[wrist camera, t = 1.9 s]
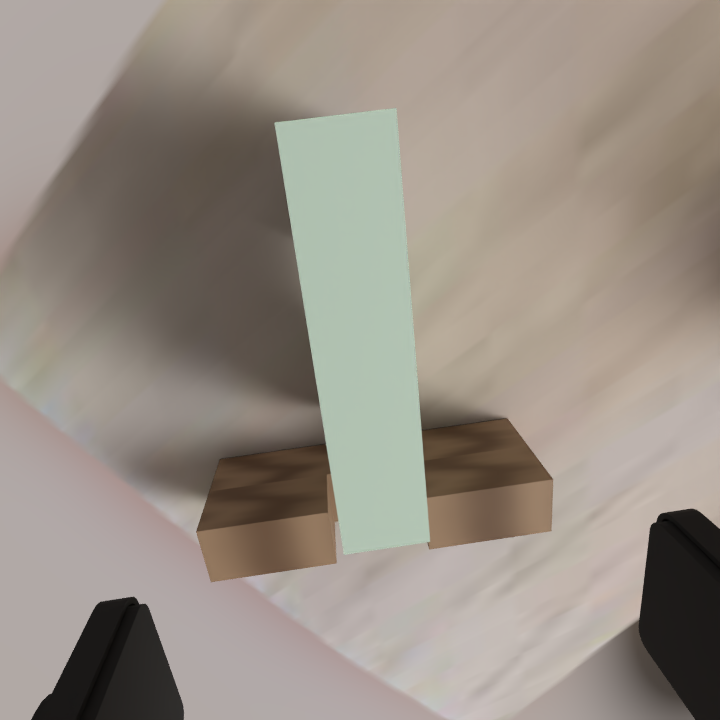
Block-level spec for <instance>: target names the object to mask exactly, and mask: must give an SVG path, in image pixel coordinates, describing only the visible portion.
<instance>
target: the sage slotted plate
mask: <svg viewBox="0 0 720 720" xmlns="http://www.w3.org/2000/svg"><path fill="white" fill-rule="evenodd" d="M275 129H276V136H277V142H278V148H279V154H280V160H281V167H282V173H283V179H284V185H285V191H286V198H287V204H288V210H289V216H290V223H291V229H292V235H293V241H294V247H295V254H296V260H297V266H298V272H299V278H300V285H301V291H302V297H303V303H304V310H305V316H306V322H307V328H308V334H309V341H310V347H311V353H312V359H313V365H314V372H315V378H316V384H317V390H318V397H319V403H320V409H321V415H322V421H323V428H324V434H325V440H326V446H327V452H328V459H329V465H330V471H331V477H332V484H333V490H334V496H335V502H336V508H337V515H338V521H339V527H340V533H341V539H342V546H343V552H344V555H345V554H352V553H359V552H366V551H372V550H379V549H386V548H392V547H399V546H406V545H412V544H419V543H426V542H430V533H429V520H428V507H427V494H426V481H425V469H424V456H423V443H422V430H421V418H420V405H419V392H418V379H417V366H416V354H415V341H414V328H413V315H412V303H411V290H410V277H409V264H408V251H407V239H406V226H405V213H404V200H403V187H402V175H401V162H400V149H399V136H398V124H397V111H396V108H392V109H384V110H375V111H367V112H359V113H350V114H342V115H334V116H325V117H317V118H308V119H300V120H292V121H283V122H275Z"/></svg>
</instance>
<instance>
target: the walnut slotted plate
mask: <svg viewBox="0 0 720 720" xmlns="http://www.w3.org/2000/svg"><path fill="white" fill-rule="evenodd" d="M422 443H423V456H424V469H425V481H426V494H427V507H428V520H429V533H430V542H427V543H428V546H429V549H435V548H442V547H448V546H455V545H462V544H468V543H475V542H482V541H488V540H495V539H502V538H508V537H515V536H522V535H528V534H535V533H542V532H548V531H551V527H552V498H553V479H552V477H551V476H550V475H549V473H548V472H547V471H546V469H545V468H544V467H543V465H542V464H541V463H540V461H539V460H538V459H537V457H536V456H535V455H534V453H533V452H532V451H531V449H530V448H529V447H528V445H527V444H526V443H525V441H524V440H523V439H522V437H521V436H520V435H519V433H518V432H517V431H516V429H515V428H514V427H513V425H512V424H511V423H510V421H509V420H508V419H500V420H493V421H486V422H479V423H472V424H465V425H458V426H451V427H443V428H436V429H429V430H422ZM336 521H338V515H337V508H336V502H335V496H334V490H333V484H332V477H331V471H330V465H329V459H328V452H327V446H326V444H324V445H317V446H310V447H303V448H295V449H288V450H281V451H274V452H267V453H260V454H253V455H246V456H239V457H232V458H225V459H220V460H219V464H218V467H217V470H216V473H215V476H214V479H213V482H212V485H211V488H210V491H209V494H208V497H207V500H206V503H205V506H204V509H203V513H202V516H201V519H200V522H199V525H198V528H197V531H196V533H197V536H198V540H199V543H200V546H201V550H202V553H203V556H204V560H205V563H206V566H207V570H208V573H209V577H210V580H211V582H215V581H221V580H228V579H234V578H242V577H248V576H255V575H262V574H268V573H275V572H282V571H288V570H295V569H302V568H308V567H315V566H322V565H328V564H335V563H337V561H336V542H335V522H336Z"/></svg>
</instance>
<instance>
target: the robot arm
mask: <svg viewBox="0 0 720 720" xmlns="http://www.w3.org/2000/svg"><path fill="white" fill-rule="evenodd" d="M639 633H640V637H641V640H642V642H643V644H644V646H645V648H646V649H647V651H648V653H649V654H650V655H651V657H652V658H653V660H654V661H655V662H656V664H657V665H658V667H659V668H660V670H661V671H662V673H663V674H664V675H665V677H666V678H667V680H668V681H669V682H670V684H671V685H672V687H673V688H674V690H675V691H676V693H677V694H678V696H679V697H680V698H681V700H682V701H683V703H684V704H685V706H686V707H687V708H688V710H689V711H690V712H691V714H692V715H693V717H694V718H695V720H720V529H719V528H718V527H717V526H716V525H714V524H713V523H712V522H711V521H710V520H709V519H708V518H706V517H705V516H704V515H703V514H702V513H700V512H699V511H697V510H695V509H686V510H680V511H673V512H667V513H662V514H660V515H659V516H658V518H657V522H656V523H653V524H652V525H651V528H650V534H649V543H648V551H647V560H646V568H645V577H644V585H643V594H642V603H641V611H640V620H639ZM31 720H184V710H183V704H182V700H181V697H180V695H179V692H178V689H177V686H176V684H175V681H174V678H173V675H172V672H171V670H170V667H169V664H168V661H167V658H166V655H165V653H164V650H163V647H162V644H161V641H160V638H159V636H158V633H157V630H156V627H155V624H154V622H153V619H152V616H151V613H150V610H149V608H148V606H147V605H146V604H140V605H139V603H138V601H137V599H136V598H135V597H128V598H122V599H116V600H110V601H103V602H100V603H98V604H97V605H96V607H95V609H94V610H93V612H92V614H91V616H90V618H89V620H88V622H87V624H86V626H85V628H84V630H83V632H82V634H81V636H80V638H79V640H78V642H77V644H76V646H75V648H74V650H73V652H72V654H71V656H70V658H69V660H68V662H67V664H66V666H65V668H64V670H63V673H62V674H61V677H60V679H59V680H58V683H57V684H56V686H55V688H54V690H53V693H52V694H49V695H48V696H47V697H46V698H45V699H44V700H43V701H42V702H41V704H40V705H39V707H38V709H37V710H36V712H35V714H34V716H33V717H32V719H31Z"/></svg>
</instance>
